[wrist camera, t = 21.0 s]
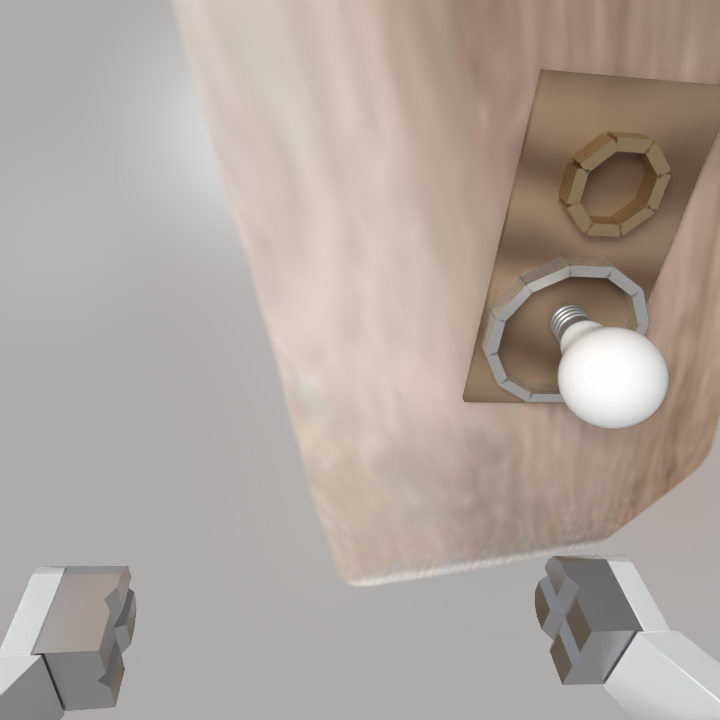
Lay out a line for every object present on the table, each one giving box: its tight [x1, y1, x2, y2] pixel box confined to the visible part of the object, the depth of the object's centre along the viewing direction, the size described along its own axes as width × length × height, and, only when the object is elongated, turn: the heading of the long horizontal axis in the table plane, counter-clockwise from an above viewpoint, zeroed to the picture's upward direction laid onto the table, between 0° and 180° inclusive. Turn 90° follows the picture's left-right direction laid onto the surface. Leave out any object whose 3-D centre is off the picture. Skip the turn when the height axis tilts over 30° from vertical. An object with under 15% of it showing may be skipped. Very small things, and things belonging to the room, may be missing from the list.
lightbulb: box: [549, 304, 669, 429], centre depth 38 cm, size 6×6×11 cm
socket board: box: [463, 70, 720, 403], centre depth 40 cm, size 24×12×2 cm, turn 175°
